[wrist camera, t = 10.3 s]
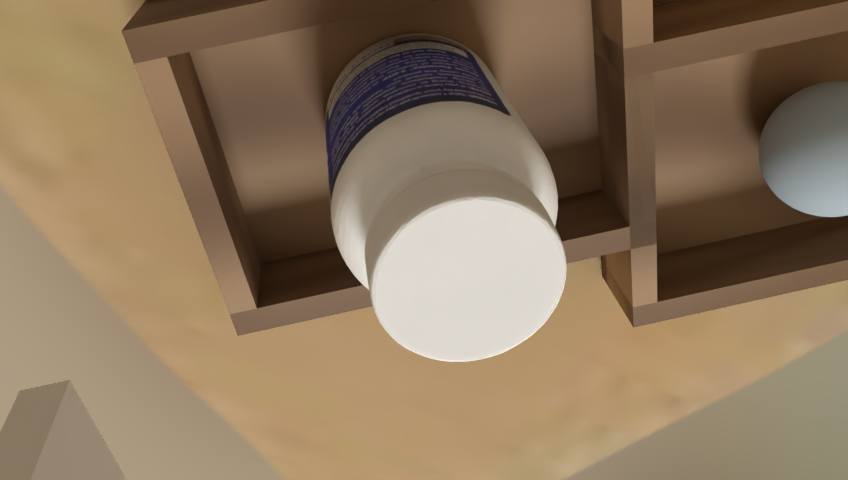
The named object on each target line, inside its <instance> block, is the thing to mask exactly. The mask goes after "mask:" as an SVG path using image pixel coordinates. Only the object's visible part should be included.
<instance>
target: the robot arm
mask: <svg viewBox="0 0 848 480" xmlns="http://www.w3.org/2000/svg"><path fill="white" fill-rule="evenodd" d="M0 480H127V479H126V478H125V476H124V474H123V472H122V471H121V469H120V467H119V465H118V463H117V462H116V460H115V458H114V456H113V455H112V453H111V451H110V449H109V448H108V446H107V444H106V442H105V441H104V439H103V437H102V435H101V434H100V432H99V430H98V428H97V427H96V425H95V423H94V421H93V420H92V418H91V416H90V415H89V413H88V411H87V409H86V407H85V406H84V404H83V402H82V401H81V399H80V397H79V395H78V393H77V392H76V390H75V388H74V387H73V385H72V383H71V381H70V380H68V381H63V382H58V383H54V384H49V385H45V386H40V387H35V388H30V389H26V390H21V391H19V393H18V395H17V398H16V400H15V402H14V404H13V406H12V408H11V410H10V413H9V415H8V417H7V419H6V421H5V423H4V425H3V428H2V430H1V432H0Z"/></svg>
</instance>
